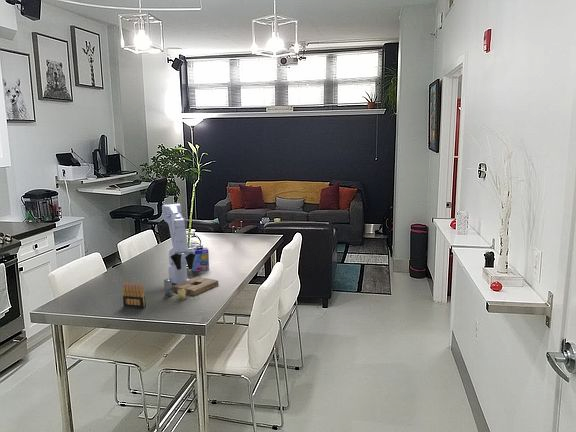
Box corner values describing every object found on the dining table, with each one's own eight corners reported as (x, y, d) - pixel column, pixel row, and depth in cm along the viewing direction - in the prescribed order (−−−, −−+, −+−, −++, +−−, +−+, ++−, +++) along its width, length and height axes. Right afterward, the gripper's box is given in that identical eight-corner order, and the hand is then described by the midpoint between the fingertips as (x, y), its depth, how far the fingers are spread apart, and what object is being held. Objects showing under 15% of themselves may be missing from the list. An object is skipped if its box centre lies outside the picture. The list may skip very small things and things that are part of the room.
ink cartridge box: (192, 272, 264) (191, 247, 262) (191, 269, 269) (189, 245, 267) (209, 269, 268) (208, 245, 265) (208, 267, 273) (206, 243, 270)
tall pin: (163, 296, 225) (162, 280, 224) (168, 294, 228) (167, 278, 227) (168, 297, 223) (167, 281, 222) (174, 295, 226) (172, 279, 225)
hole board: (173, 291, 232) (172, 286, 232) (198, 281, 247) (197, 276, 247) (194, 295, 225) (193, 290, 224) (218, 285, 240) (218, 280, 239)
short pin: (176, 299, 220) (176, 290, 219) (182, 297, 223) (181, 288, 222) (182, 300, 218) (181, 291, 218) (187, 298, 221) (187, 289, 221)
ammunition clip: (146, 306, 211) (143, 281, 209) (143, 308, 210) (141, 282, 208) (125, 305, 214) (123, 280, 212) (123, 306, 213) (120, 281, 211)
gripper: (176, 240, 223) (179, 268, 220) (197, 240, 235) (201, 267, 233) (166, 243, 227) (169, 270, 224) (187, 243, 239) (191, 270, 236)
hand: (184, 269), depth 229 cm, fingers open, 7 cm apart
